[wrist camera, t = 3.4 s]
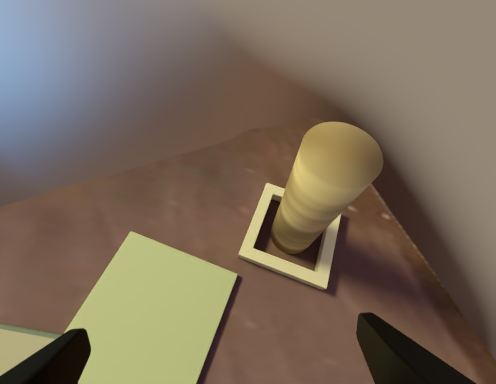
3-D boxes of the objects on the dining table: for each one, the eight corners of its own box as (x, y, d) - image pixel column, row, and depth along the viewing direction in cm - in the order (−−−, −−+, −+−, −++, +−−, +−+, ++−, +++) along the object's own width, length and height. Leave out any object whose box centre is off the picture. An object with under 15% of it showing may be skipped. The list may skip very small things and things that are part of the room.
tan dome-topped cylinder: (305, 260, 22) (379, 198, 10) (265, 245, 22) (292, 170, 11) (314, 223, 23) (386, 134, 12) (277, 210, 24) (311, 113, 12)
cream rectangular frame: (322, 290, 20) (326, 288, 19) (238, 257, 21) (238, 254, 20) (337, 212, 24) (342, 208, 23) (265, 188, 25) (266, 182, 24)
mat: (177, 432, 16) (176, 435, 15) (48, 363, 17) (43, 364, 17) (237, 275, 21) (237, 274, 20) (133, 232, 22) (130, 231, 22)
